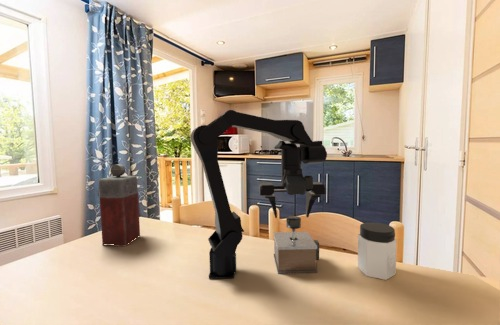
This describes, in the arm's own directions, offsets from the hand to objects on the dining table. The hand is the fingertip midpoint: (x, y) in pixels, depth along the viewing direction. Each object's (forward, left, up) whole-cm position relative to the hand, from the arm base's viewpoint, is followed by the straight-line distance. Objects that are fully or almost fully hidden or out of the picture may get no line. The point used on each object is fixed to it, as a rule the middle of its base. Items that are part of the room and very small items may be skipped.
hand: (291, 217), depth 72 cm
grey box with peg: (0, -3, -13) cm, 13 cm away
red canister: (-59, +18, -13) cm, 63 cm away
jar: (+21, -8, -13) cm, 26 cm away
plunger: (0, -3, -11) cm, 12 cm away
